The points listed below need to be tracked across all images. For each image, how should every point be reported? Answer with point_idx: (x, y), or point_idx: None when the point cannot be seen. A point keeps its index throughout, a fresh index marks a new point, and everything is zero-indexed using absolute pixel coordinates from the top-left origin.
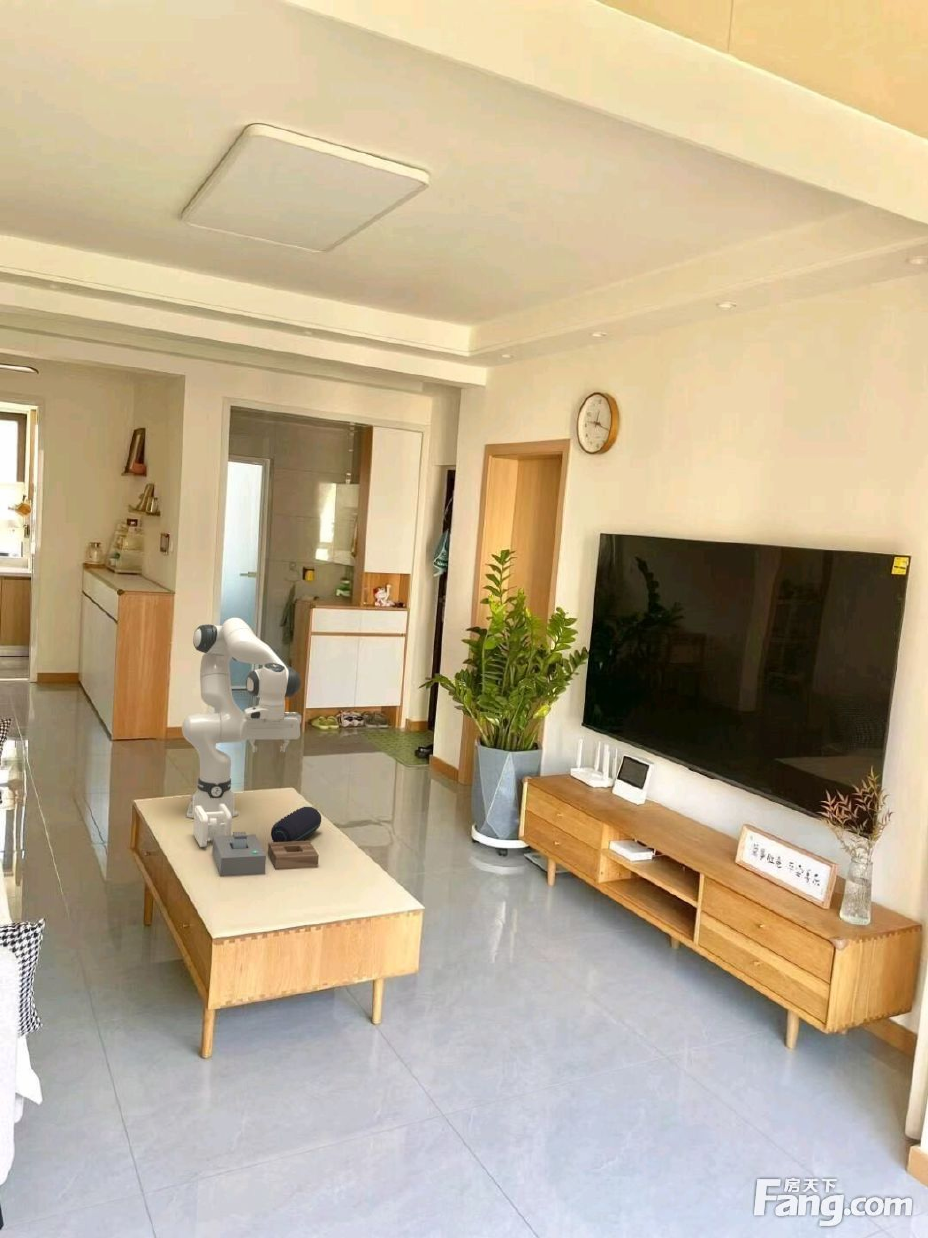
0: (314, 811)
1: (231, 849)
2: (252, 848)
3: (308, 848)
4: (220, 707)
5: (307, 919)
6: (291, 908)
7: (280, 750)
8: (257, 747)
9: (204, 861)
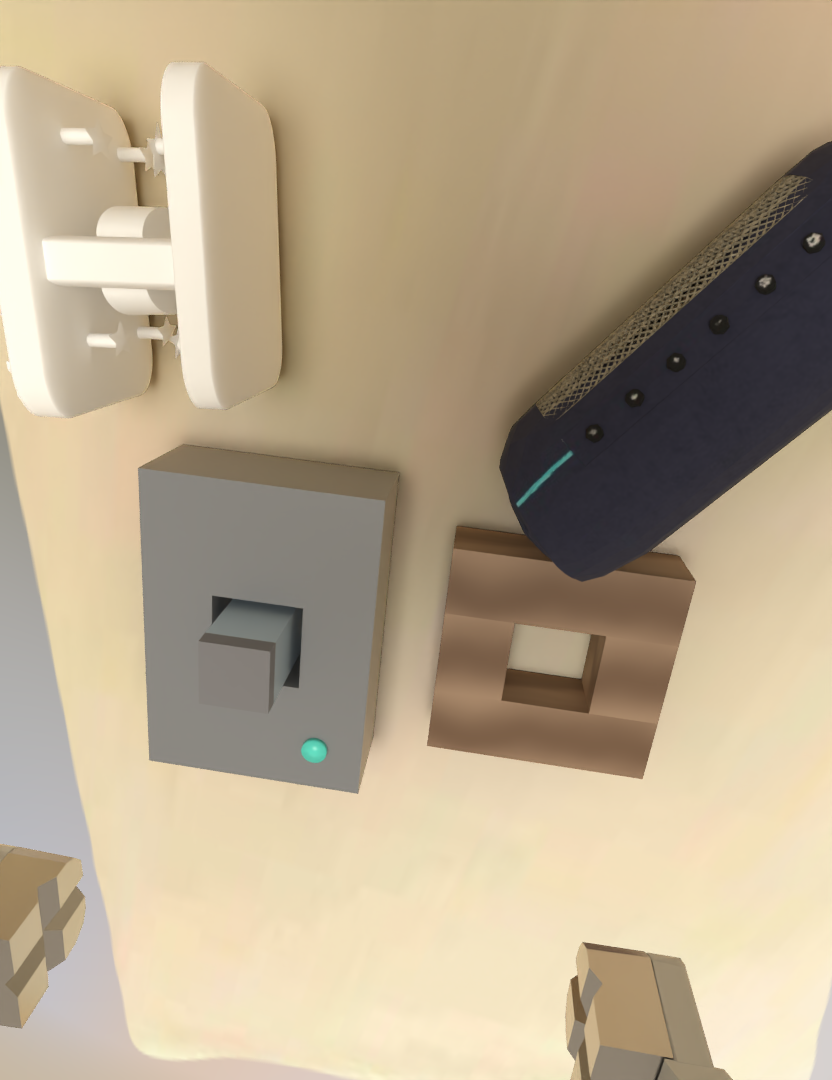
0: None
1: None
2: (315, 696)
3: (634, 686)
4: None
5: (405, 1071)
6: (380, 1003)
7: (579, 985)
8: (17, 1025)
9: (137, 533)
